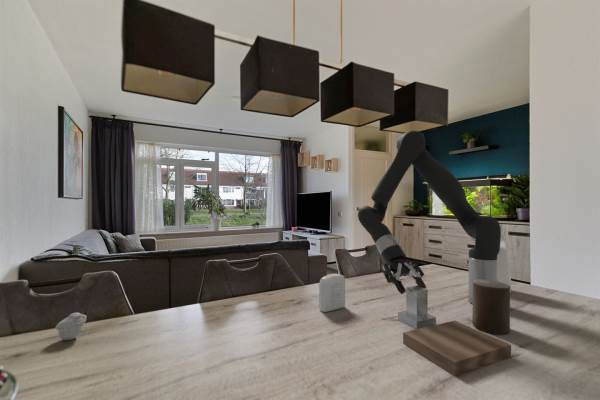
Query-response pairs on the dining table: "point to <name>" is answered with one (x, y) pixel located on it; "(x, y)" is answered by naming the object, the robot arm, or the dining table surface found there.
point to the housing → (417, 309)
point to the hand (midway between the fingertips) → (414, 291)
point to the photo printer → (331, 292)
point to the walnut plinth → (456, 346)
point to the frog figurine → (71, 326)
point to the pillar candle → (491, 306)
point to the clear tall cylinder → (503, 263)
